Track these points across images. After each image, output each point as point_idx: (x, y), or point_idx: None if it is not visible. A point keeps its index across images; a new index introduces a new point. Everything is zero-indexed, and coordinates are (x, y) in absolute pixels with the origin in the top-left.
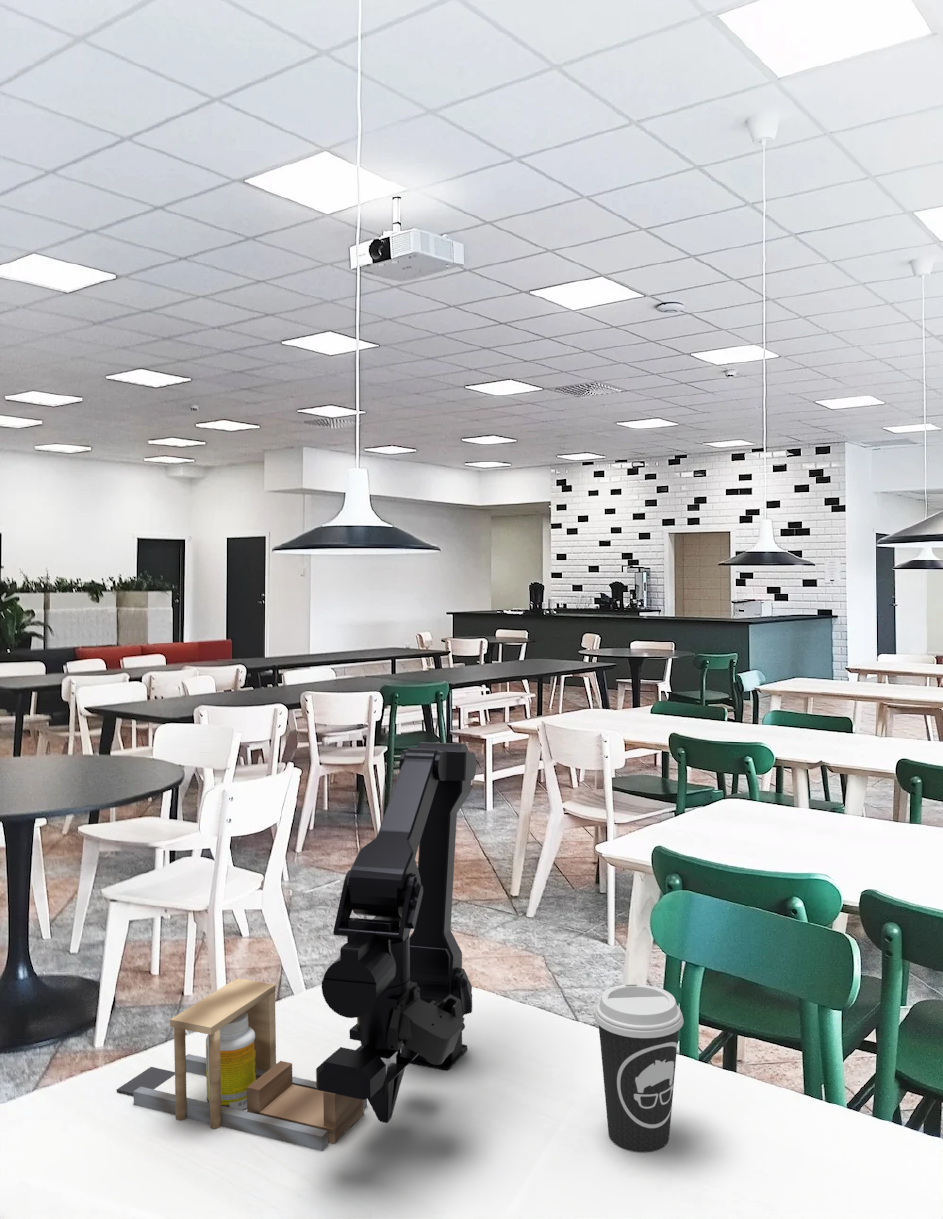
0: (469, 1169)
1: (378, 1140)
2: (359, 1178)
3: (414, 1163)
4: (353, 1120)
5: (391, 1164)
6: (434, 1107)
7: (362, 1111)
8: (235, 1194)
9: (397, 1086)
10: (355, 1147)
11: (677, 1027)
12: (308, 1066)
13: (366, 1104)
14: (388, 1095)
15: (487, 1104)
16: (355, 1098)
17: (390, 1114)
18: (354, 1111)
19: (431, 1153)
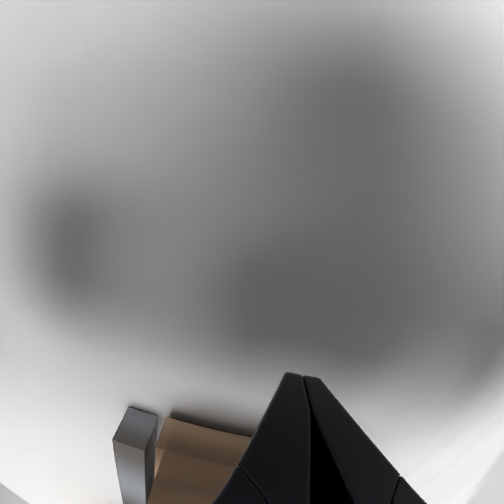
0: (440, 12)
1: (301, 358)
2: (484, 348)
3: (439, 206)
4: (229, 440)
5: (441, 284)
6: (52, 208)
7: (172, 426)
8: (459, 484)
9: (285, 491)
10: (343, 403)
11: None
12: (55, 474)
13: (126, 414)
14: (412, 491)
15: (21, 41)
16: (204, 487)
17: (307, 390)
18: (219, 457)
19: (374, 147)
